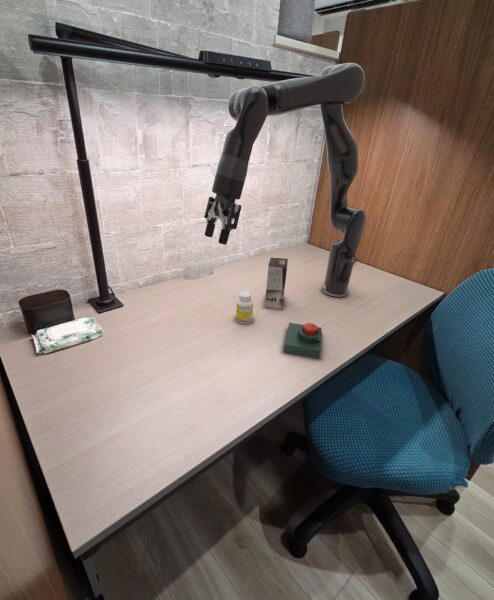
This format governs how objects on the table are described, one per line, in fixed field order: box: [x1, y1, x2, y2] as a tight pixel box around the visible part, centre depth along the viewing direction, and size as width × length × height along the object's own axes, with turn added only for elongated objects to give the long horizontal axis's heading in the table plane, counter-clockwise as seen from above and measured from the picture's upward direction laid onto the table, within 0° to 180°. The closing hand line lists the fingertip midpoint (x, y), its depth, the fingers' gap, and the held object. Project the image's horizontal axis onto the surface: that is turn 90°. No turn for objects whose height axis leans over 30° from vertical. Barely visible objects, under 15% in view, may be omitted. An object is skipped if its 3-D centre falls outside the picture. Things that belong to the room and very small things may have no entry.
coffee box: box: [264, 257, 289, 310], centre depth 113 cm, size 9×6×16 cm
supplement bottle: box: [235, 290, 254, 324], centre depth 104 cm, size 5×5×10 cm
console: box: [283, 322, 323, 360], centre depth 94 cm, size 12×10×5 cm
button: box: [303, 322, 319, 335], centre depth 92 cm, size 4×4×2 cm
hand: (214, 240), depth 84 cm, fingers open, 8 cm apart
